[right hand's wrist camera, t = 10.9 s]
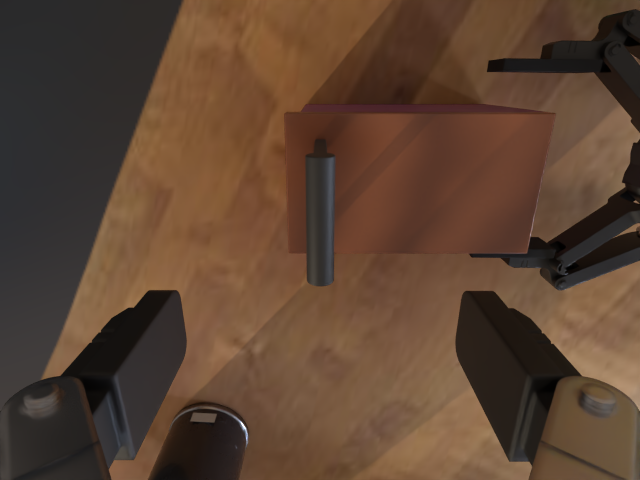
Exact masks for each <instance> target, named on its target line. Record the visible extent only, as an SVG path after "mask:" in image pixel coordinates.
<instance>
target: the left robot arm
mask: <svg viewBox="0 0 640 480" xmlns="http://www.w3.org/2000/svg"><path fill="white" fill-rule="evenodd" d="M598 29H599V32H598V33H597V35H596V37H595V38H594V39H593V40H592V41H557V42H552V43H549V44H546V45H544V46H543V48H542V53H541V58H540V59H511V58H504V59H497V60H490V61H489V62H488V69H487V72H532V73H589V72H594V73H595V74H596V75H597V77H598V78H599V79H600V80H601V81H602V83H603V84H604V85H605V86H606V87H607V89H608V90H609V91H610V92H611V93H612V95H613V96H614V97H615V98H616V99H617V101H618V102H619V103H620V104H621V106H622V107H623V108H624V109H625V110H626V112H627V113H628V114H629V115H630V116H631V118H632V120H631V123H632V124H633V125H634V126H635V128H636V129H637V130H638V131H639V132H640V65H639V64H638V63H637V62H636V60H635V59H634V58H633V56H632V55H634V56H635V57H637V58H638V59H640V11H639V10H636V9H635V10H629V11H625V12H621V13H617V14H613V15H608V16H606V17H604V18H603V19H602V20H601V21H600V23H599V26H598ZM630 53H631V54H632V55H631V54H630ZM622 183H625V186H626V187H625V188H623V189H622V190H620V191H619V192H617V193H616V194H614V195H613V196H611V197H610V198H609V199H608V203H607V204H606V205H604V206H603V207H601V208H600V209H598V210H597V211H595V212H594V213H592V214H590V215H589V216H587V217H586V218H584V219H583V220H581V221H580V222H578V223H577V224H575V225H574V226H572V227H571V228H569V229H568V230H566V231H564V232H563V233H561V234H560V235H558V236H557V237H555V238H554V239H552V240H551V241H549V242H548V243H546V242H544V241H543V240H542V239H540V238H539V237H530V241H529V246H528V251H527V253H468V254H469V255H470V256H471V257H479V258H501V259H502V260H503V261H505V262H506V263H507V264H508V265H509V266H511V267H514V268H521V267H522V268H541V270H540V275H541V276H542V277H543V278H544V279H546V280H547V281H548V282H549V283H550V284H551V285H552V286H554V287H555V288H556V289H557V290H565V289H567V288H570V287H572V286H575V285H578V284H580V283H583V282H585V281H588V280H590V279H593V278H596V277H598V276H601V275H603V274H606V273H609V272H611V271H614V270H616V269H619V268H622V267H624V266H627V265H629V264H632V263H634V262H637V261H640V226H639V227H637V229H636V232H630V233H626V234H623V235H620V236H617V237H615V236H616V235H618V234H620V233H621V232H623V231H624V230H626V229H628V228H629V227H631V226H632V225H634V224H636V223H640V204H637V203H634V202H633V201H635V200H636V201H637V202H639V203H640V139H639V141H638V143H633V146H632V150H631V156H630V164H629V166H628V168H627V170H626V171H625V174H624V177H623V180H622ZM613 237H615V238H613Z"/></svg>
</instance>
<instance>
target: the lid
mask: <svg viewBox="0 0 640 480" xmlns="http://www.w3.org/2000/svg"><path fill="white" fill-rule="evenodd" d="M555 115H556V114H555V113H550V112H286V113H285V114H284V123H285V155H286V187H287V219H288V250H289V253H307V281H308V283H309V284H311V285H314V286H327V285H329V284H331V283H332V282H333V281H334V253H527V251H528V246H529V241H530V236H531V231H532V226H533V222H534V217H535V212H536V207H537V202H538V197H539V193H540V188H541V183H542V178H543V173H544V169H545V164H546V159H547V154H548V149H549V144H550V140H551V135H552V130H553V125H554V120H555Z"/></svg>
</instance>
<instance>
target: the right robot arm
mask: <svg viewBox="0 0 640 480" xmlns="http://www.w3.org/2000/svg"><path fill="white" fill-rule="evenodd" d="M186 343H187V340H186V331H185V324H184V318H183V311H182V304H181V298H180V294H179V292H178V291H177V290H149V291H148V292H147V293H146V294H145V295H144V296H143V297H142V299H141V300H140V301H139V302H138V303H137V305H136V306H135V307H134V308H127V309H126V310H124V311H122V312H121V313H119V314H118V315H116V316H114V317H113V318H111V320H110V321H109V322H108V323H107V324H106V325H105V326H104V327H103V329H102V330H101V333H98V334H97V335H96V336H95V338H94V339H93V340H92V343H89V344H88V345H87V347H86V348H85V349H84V350H83V351H82V352H81V353H80V354H79V356H78V357H77V358H76V359H75V360H74V361H73V362H72V363H71V365H70V366H69V367H68V368H67V369H66V370H65V371H64V372H63V374H62V375H61V376H57V377H51V378H47V379H44V380H41V381H38V382H35V383H33V384H31V385H29V386H27V387H25V388H23V389H22V390H20V391H19V392H17V393H16V394H15V395H13V396H12V397H11V398H10V399H9V400H8V401H7V402H6V403H5V405H4V406H3V407H2V410H1V411H0V480H111V476H110V473H109V468H110V466H111V464H112V462H113V461H114V460H134V458H135V456H136V454H137V452H138V450H139V448H140V446H141V444H142V442H143V440H144V438H145V436H146V434H147V432H148V430H149V428H150V426H151V424H152V422H153V420H154V418H155V416H156V414H157V412H158V410H159V408H160V406H161V404H162V402H163V400H164V398H165V396H166V394H167V392H168V390H169V388H170V386H171V384H172V382H173V380H174V378H175V376H176V374H177V372H178V370H179V368H180V366H181V364H182V361H183V359H184V356H185V352H186ZM456 353H457V357H458V360H459V362H460V364H461V366H462V368H463V370H464V372H465V374H466V376H467V378H468V380H469V382H470V384H471V386H472V388H473V390H474V392H475V394H476V396H477V398H478V400H479V402H480V404H481V406H482V408H483V410H484V412H485V414H486V416H487V418H488V420H489V422H490V424H491V426H492V428H493V430H494V432H495V434H496V436H497V438H498V440H499V442H500V444H501V446H502V448H503V450H504V452H505V454H506V456H507V458H508V460H509V462H530V463H531V465H532V470H531V473H530V476H529V480H640V411H639V409H638V407H637V406H636V405H635V403H634V402H633V401H632V400H631V399H630V398H629V397H628V396H627V395H625V394H624V393H623V392H621V391H620V390H618V389H617V388H615V387H613V386H611V385H609V384H607V383H605V382H602V381H599V380H596V379H593V378H589V377H583V376H582V375H581V374H580V373H579V372H578V371H577V370H576V369H575V368H574V367H573V365H572V364H571V363H570V362H569V361H568V360H567V359H566V358H565V356H564V355H563V354H562V353H561V352H560V351H559V350H558V349H557V348H556V346H555V345H554V344H551V341H550V340H549V339H548V338H547V336H546V335H545V334H544V333H542V331H541V330H540V329H539V328H538V326H537V325H536V324H535V323H534V322H533V321H532V320H531V319H530V318H529V317H527V316H525V315H524V314H522V313H520V312H519V311H517V310H516V309H514V308H508V307H507V306H506V305H505V304H504V302H503V301H502V300H501V299H500V298H499V296H498V295H497V294H496V293H495V292H494V291H465V292H464V293H463V295H462V299H461V305H460V312H459V319H458V326H457V332H456ZM248 438H249V432H248V428H247V425H246V423H245V422H244V420H243V419H242V418H241V417H240V416H239V415H238V414H237V413H236V412H234V411H233V410H231V409H229V408H227V407H225V406H222V405H218V404H213V403H199V404H194V405H191V406H188V407H186V408H184V409H183V410H181V411H180V412H179V413H178V414H177V415H176V416H175V417H174V419H173V421H172V424H171V426H170V429H169V433H168V435H167V437H166V440H165V442H164V444H163V446H162V448H161V451H160V453H159V455H158V458H157V460H156V462H155V465H154V467H153V469H152V471H151V474H150V476H149V478H148V480H239V478H240V473H241V469H242V464H243V459H244V454H245V450H246V447H247V443H248Z"/></svg>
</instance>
